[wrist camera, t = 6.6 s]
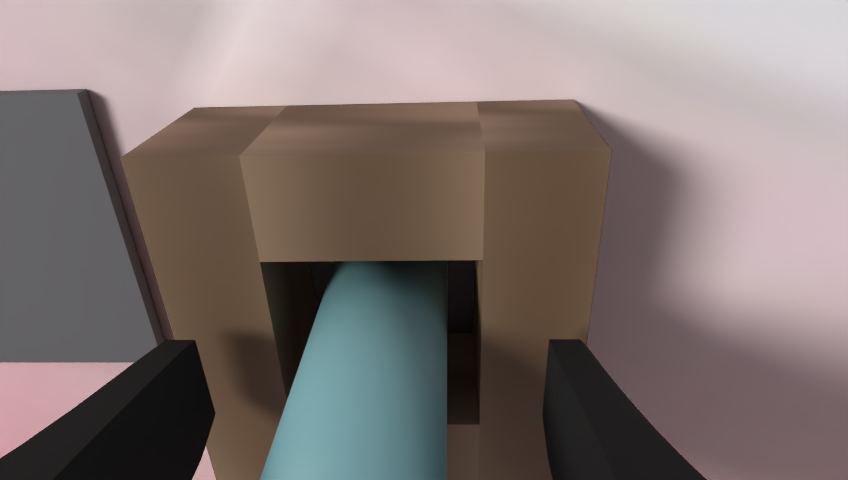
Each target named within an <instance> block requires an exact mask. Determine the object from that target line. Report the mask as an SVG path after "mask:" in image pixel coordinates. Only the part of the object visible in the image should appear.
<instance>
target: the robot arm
mask: <svg viewBox="0 0 848 480" xmlns="http://www.w3.org/2000/svg"><path fill="white" fill-rule="evenodd" d="M215 414H216V413H215V409H214V406H213V402H212V399H211V395H210V391H209V388H208V384H207V381H206V377H205V373H204V370H203V366H202V363H201V359H200V355H199V352H198V348H197V345H196V341H195V340H165V341H164V342H163V343H161V344H160V345H158V346H157V347H155V348H154V349H152V350H151V351H150V352H148V353H147V354H145V355H144V356H143V357H141V358H140V359H139V360H137V361H136V362H135V363H133V364H132V365H131V366H129V367H128V368H127V369H126V370H124V371H123V372H122V373H120V374H119V375H118V376H116V377H115V378H114V379H112V380H111V381H110V382H108V383H107V384H106V385H104V386H103V387H102V388H100V389H99V390H98V391H96V392H95V393H94V394H92V395H91V396H90V397H88V398H87V399H86V400H84V401H83V402H82V403H80V404H79V405H78V406H76V407H75V408H73V409H72V410H71V411H69V412H68V413H66V414H65V415H63V416H62V417H61V418H59V419H58V420H56V421H55V422H53V423H52V424H51V425H49V426H48V427H46V428H45V429H43V430H42V431H40V432H39V433H38V434H36V435H35V436H33V437H32V438H30V439H29V440H28V441H26V442H25V443H23V444H22V445H20V446H19V447H17V448H16V449H14V450H13V451H11V452H10V453H8V454H6V455H5V456H3V457H2V458H0V480H192V478H193V476H194V474H195V471H196V469H197V467H198V465H199V463H200V460H201V458H202V455H203V452H204V449H205V446H206V443H207V440H208V437H209V434H210V431H211V427H212V424H213V421H214V418H215ZM542 418H543V425H544V433H545V441H546V448H547V455H548V462H549V466H550V470H551V475H552V479H553V480H707V479H705V478H704V477H703V476H702V475H701V474H700V473H699V472H698V471H697V470H696V469H695V468H694V467H693V466H692V465H691V464H690V463H688V462H687V461H686V460H685V459H684V458H683V457H682V456H681V455H680V454H679V453H678V452H677V451H676V450H675V449H674V448H673V447H672V446H671V445H670V443H669V442H668V441H667V440H666V439H665V438H664V437H663V436H662V435H661V434H660V433H659V432H658V431H657V430H656V429H655V428H654V427H653V426H652V425H651V424H650V422H649V421H648V420H647V419H646V418H645V417H644V416H643V415H642V413H641V412H640V411H639V410H638V409H637V408H636V407H635V405H634V404H633V403H632V402H631V401H630V400H629V399H628V398H627V396H626V395H625V394H624V393H623V392H622V390H621V389H620V388H619V387H618V386H617V384H616V383H615V382H614V381H613V379H612V378H611V377H610V376H609V374H608V373H607V372H606V371H605V369H604V368H603V367H602V366H601V364H600V363H599V362H598V360H597V359H596V358H595V357H594V355H593V354H592V353H591V351H590V350H589V349H588V347H587V346H586V345H585V344H584V343H583V342H582V341H581V340H580V339H549V346H548V357H547V368H546V379H545V390H544V401H543V412H542Z"/></svg>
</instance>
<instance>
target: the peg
mask: <svg viewBox="0 0 848 480" xmlns="http://www.w3.org/2000/svg"><path fill="white" fill-rule="evenodd" d="M260 480H447V260H432V261H335V263H334V266H333V269H332V272H331V275H330V278H329V280H328V283H327V286H326V289H325V292H324V295H323V298H322V301H321V304H320V307H319V309H318V312H317V315H316V318H315V321H314V324H313V327H312V330H311V333H310V335H309V338H308V341H307V344H306V347H305V350H304V353H303V356H302V359H301V362H300V364H299V367H298V370H297V373H296V376H295V379H294V382H293V385H292V388H291V390H290V393H289V396H288V399H287V402H286V405H285V408H284V411H283V414H282V417H281V419H280V422H279V425H278V428H277V431H276V434H275V437H274V440H273V443H272V445H271V448H270V451H269V454H268V457H267V460H266V463H265V466H264V469H263V472H262V474H261V477H260Z"/></svg>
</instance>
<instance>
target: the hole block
mask: <svg viewBox="0 0 848 480" xmlns="http://www.w3.org/2000/svg"><path fill="white" fill-rule="evenodd" d="M611 154H612V149H611V148H610V147H609V145H608V144H607V143H606V141H605V140H604V139H603V137H602V136H601V135H600V133H599V132H598V131H597V130H596V128H595V127H594V126H593V124H592V123H591V122H590V120H589V119H588V118H587V116H586V115H585V114H584V113H583V111H582V110H581V109H580V107H579V106H578V105H577V103H576V102H575V101H574V100H532V101H485V102H439V103H393V104H347V105H300V106H254V107H208V108H193V109H192V110H190V111H189V112H187V113H186V114H184V115H183V116H181V117H180V118H178V119H177V120H176V121H174V122H173V123H171V124H170V125H168V126H167V127H165V128H164V129H162V130H161V131H159V132H158V133H156V134H155V135H154V136H152V137H151V138H149V139H148V140H146V141H145V142H143V143H142V144H140V145H139V146H137V147H136V148H134V149H133V150H132V151H130V152H129V153H127V154H126V155H124V156H123V157H121V158H120V160H121V164H122V167H123V170H124V174H125V177H126V180H127V184H128V187H129V190H130V194H131V197H132V200H133V204H134V207H135V210H136V214H137V217H138V220H139V224H140V227H141V230H142V234H143V237H144V240H145V244H146V247H147V250H148V254H149V257H150V260H151V264H152V267H153V270H154V274H155V277H156V280H157V284H158V287H159V290H160V294H161V297H162V300H163V304H164V307H165V310H166V314H167V317H168V320H169V324H170V327H171V330H172V334H173V337H174V340H195V341H196V345H197V348H198V352H199V355H200V359H201V363H202V366H203V370H204V373H205V377H206V381H207V384H208V388H209V391H210V395H211V399H212V402H213V406H214V409H215V413H216V414H215V418H214V421H213V424H212V427H211V431H210V434H209V437H208V440H207V443H206V447H207V450H208V454H209V457H210V460H211V464H212V467H213V470H214V474H215V477H216V480H260V477H261V474H262V472H263V469H264V466H265V463H266V460H267V457H268V454H269V451H270V448H271V445H272V443H273V440H274V437H275V434H276V431H277V428H278V425H279V422H280V419H281V417H282V414H283V411H284V408H285V405H286V402H287V399H288V396H289V393H290V390H291V388H292V385H293V382H294V379H295V376H296V373H297V370H298V367H299V364H300V362H301V359H302V356H303V353H304V350H305V347H306V344H307V341H308V338H309V335H310V333H311V330H312V327H313V324H314V321H315V318H316V315H317V308H316V301H315V295H314V288H313V281H312V274H311V267H310V262H313V261H432V260H475V262H474V333H447V480H553V479H552V475H551V470H550V466H549V462H548V455H547V448H546V441H545V433H544V425H543V418H542V412H543V401H544V390H545V379H546V368H547V357H548V346H549V339H580V340H581V341H582V342H583V343H584V344H585V345H586V344H587V337H588V329H589V322H590V314H591V306H592V299H593V291H594V283H595V276H596V268H597V260H598V253H599V245H600V238H601V230H602V222H603V215H604V207H605V199H606V192H607V184H608V176H609V169H610V161H611Z"/></svg>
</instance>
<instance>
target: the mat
mask: <svg viewBox="0 0 848 480" xmlns="http://www.w3.org/2000/svg"><path fill="white" fill-rule="evenodd" d="M164 341H165V340H164V337H163V334H162V331H161V327H160V324H159V321H158V318H157V314H156V311H155V308H154V305H153V302H152V298H151V295H150V292H149V289H148V286H147V282H146V279H145V276H144V273H143V269H142V266H141V263H140V260H139V257H138V253H137V250H136V247H135V244H134V240H133V237H132V234H131V231H130V228H129V224H128V221H127V218H126V215H125V211H124V208H123V205H122V202H121V199H120V195H119V192H118V189H117V186H116V182H115V179H114V176H113V173H112V170H111V166H110V163H109V160H108V157H107V153H106V150H105V147H104V144H103V141H102V137H101V134H100V131H99V128H98V124H97V121H96V118H95V115H94V112H93V108H92V105H91V102H90V99H89V95H88V92H87V89H73V90H31V91H0V362H136V361H137V360H139V359H140V358H141V357H143V356H144V355H145V354H147V353H148V352H150V351H151V350H152V349H154V348H155V347H157V346H158V345H160V344H161V343H163V342H164Z"/></svg>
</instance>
